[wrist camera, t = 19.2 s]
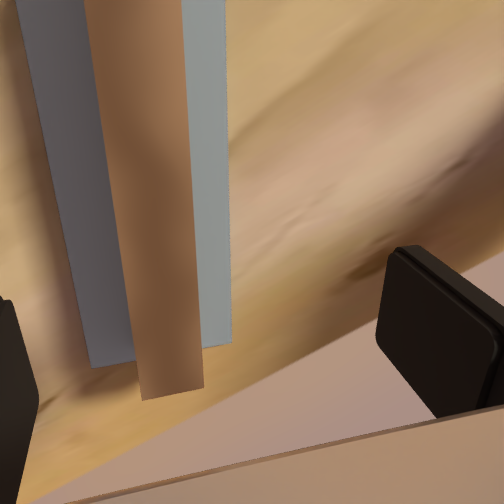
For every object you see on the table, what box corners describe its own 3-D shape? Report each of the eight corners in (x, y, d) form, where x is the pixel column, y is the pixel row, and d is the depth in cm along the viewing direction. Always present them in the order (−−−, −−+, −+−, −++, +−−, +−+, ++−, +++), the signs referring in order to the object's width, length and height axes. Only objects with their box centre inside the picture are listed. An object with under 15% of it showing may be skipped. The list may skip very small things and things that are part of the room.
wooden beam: (160, -80, 18) (174, -111, 14) (190, 339, 28) (204, 387, 24) (74, -86, 17) (65, -120, 14) (137, 349, 27) (141, 400, 23)
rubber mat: (219, -103, 19) (223, -107, 19) (229, 337, 30) (231, 342, 29) (-8, -124, 17) (-12, -129, 16) (91, 362, 27) (91, 368, 27)
